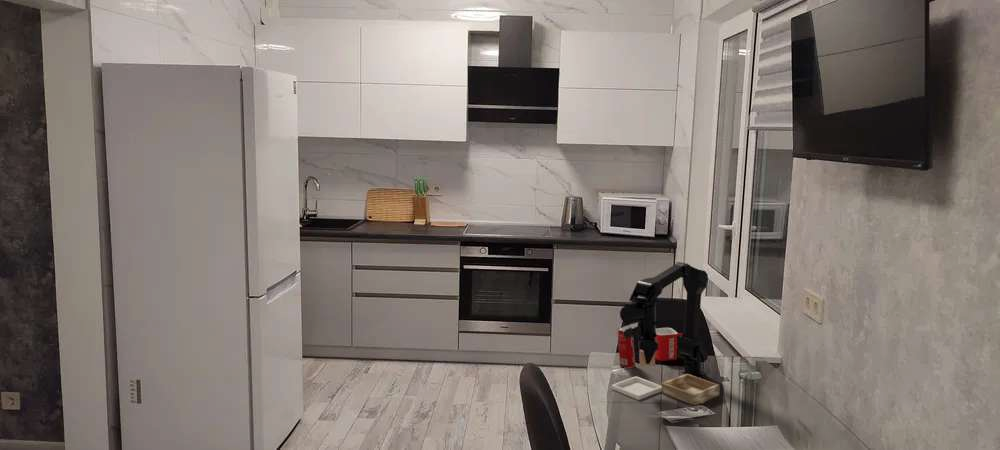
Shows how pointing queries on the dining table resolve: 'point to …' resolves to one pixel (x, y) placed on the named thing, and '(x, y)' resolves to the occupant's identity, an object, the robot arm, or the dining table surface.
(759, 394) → the dining table surface
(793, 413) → the dining table surface
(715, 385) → the wooden bin
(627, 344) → the beverage can
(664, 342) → the mug
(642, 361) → the clay block
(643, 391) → the tray
